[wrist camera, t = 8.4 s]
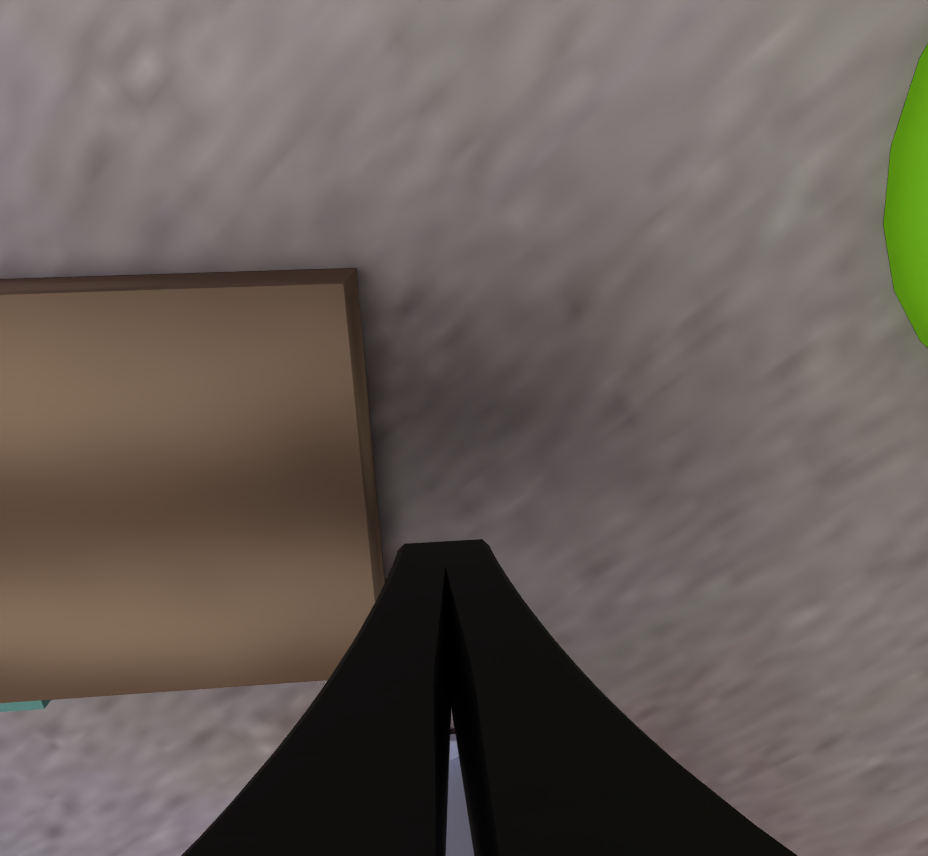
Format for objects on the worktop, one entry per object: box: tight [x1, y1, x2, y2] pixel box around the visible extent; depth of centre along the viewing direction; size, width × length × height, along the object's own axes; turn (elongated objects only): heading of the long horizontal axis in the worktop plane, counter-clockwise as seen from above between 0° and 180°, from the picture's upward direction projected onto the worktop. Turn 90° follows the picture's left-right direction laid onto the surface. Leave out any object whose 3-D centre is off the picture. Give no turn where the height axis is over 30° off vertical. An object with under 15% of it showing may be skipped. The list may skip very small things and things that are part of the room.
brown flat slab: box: [0, 268, 385, 703], centre depth 17 cm, size 12×12×3 cm
